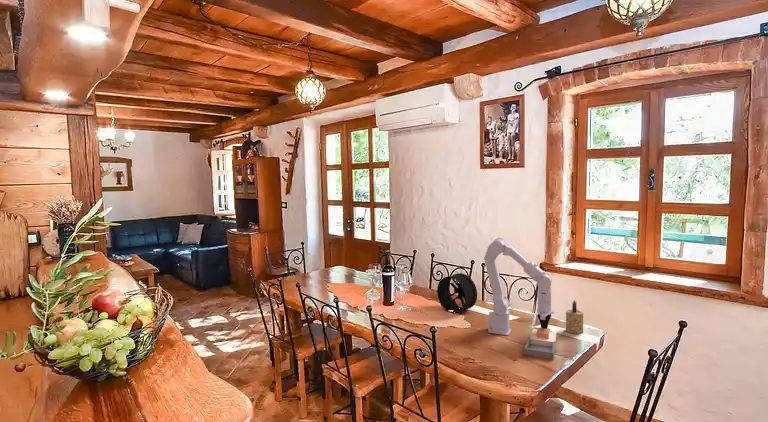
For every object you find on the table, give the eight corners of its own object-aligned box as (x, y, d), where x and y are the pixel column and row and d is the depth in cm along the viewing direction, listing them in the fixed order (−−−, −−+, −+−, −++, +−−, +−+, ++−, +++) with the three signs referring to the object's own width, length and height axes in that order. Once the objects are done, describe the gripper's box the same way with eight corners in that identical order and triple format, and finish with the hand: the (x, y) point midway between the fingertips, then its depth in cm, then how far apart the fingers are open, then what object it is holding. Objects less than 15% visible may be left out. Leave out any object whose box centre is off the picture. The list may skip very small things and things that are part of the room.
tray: (524, 355, 169) (524, 348, 168) (528, 343, 179) (528, 337, 179) (553, 359, 164) (553, 353, 163) (555, 347, 174) (555, 341, 174)
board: (529, 344, 179) (529, 338, 179) (533, 334, 190) (533, 329, 189) (554, 347, 175) (554, 342, 174) (556, 337, 185) (556, 332, 185)
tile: (536, 337, 180) (536, 332, 180) (538, 331, 186) (538, 327, 186) (548, 338, 178) (548, 334, 178) (550, 333, 184) (550, 328, 184)
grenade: (585, 334, 187) (585, 302, 186) (568, 333, 189) (568, 302, 188) (580, 328, 195) (580, 297, 193) (564, 327, 196) (564, 297, 195)
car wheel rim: (477, 312, 221) (477, 276, 219) (465, 317, 215) (464, 280, 213) (449, 304, 236) (448, 270, 235) (437, 308, 230) (436, 273, 228)
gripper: (552, 306, 177) (552, 337, 178) (555, 297, 189) (555, 325, 191) (535, 304, 180) (535, 334, 181) (538, 295, 193) (539, 323, 194)
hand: (544, 330), depth 186 cm, fingers closed
